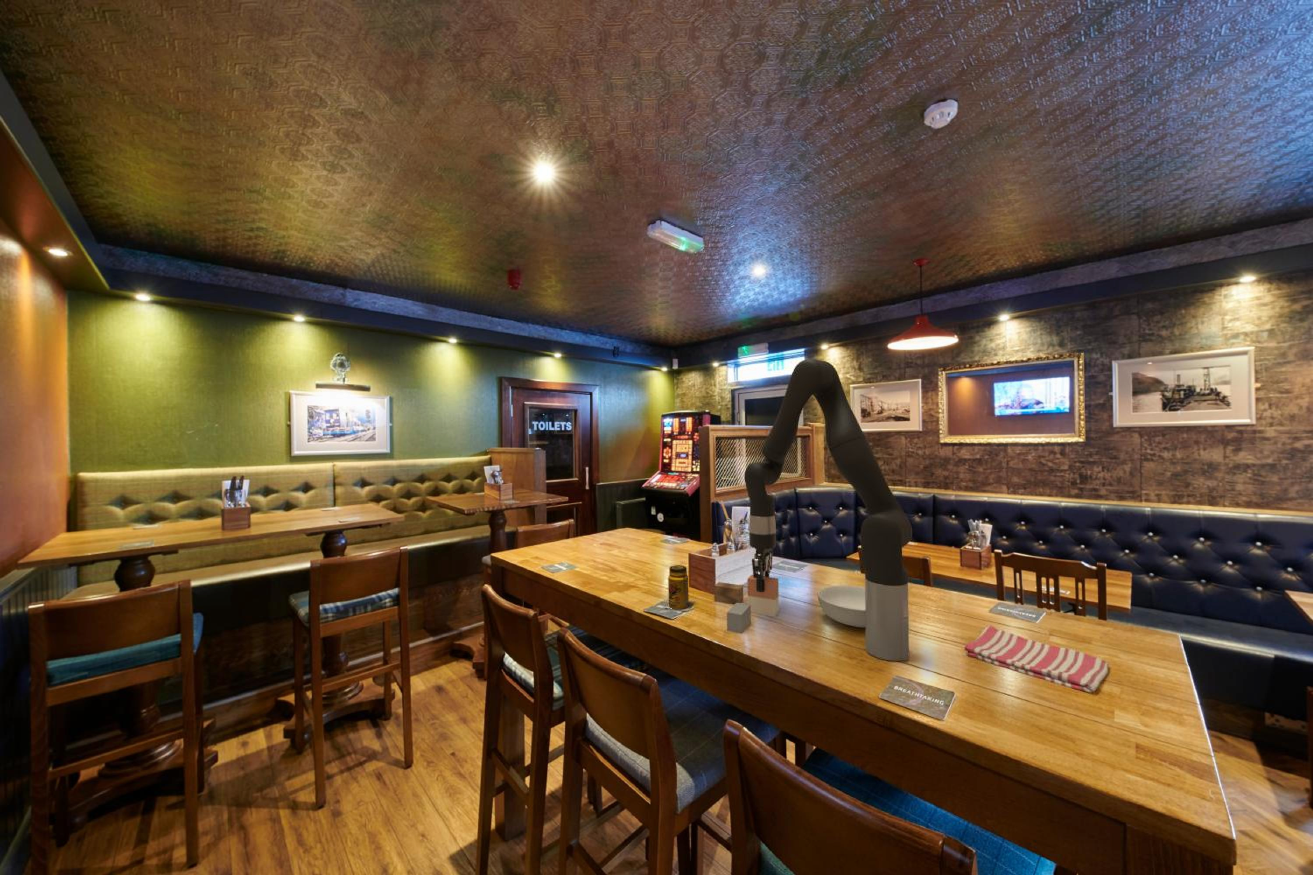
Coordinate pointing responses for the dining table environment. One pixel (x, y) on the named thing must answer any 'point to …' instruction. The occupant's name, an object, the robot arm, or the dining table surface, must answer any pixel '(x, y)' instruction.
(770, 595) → the terracotta brick
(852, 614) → the serving bowl
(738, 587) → the walnut brick
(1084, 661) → the dish towel
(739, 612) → the slate brick
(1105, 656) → the dining table surface
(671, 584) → the condiment
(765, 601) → the cream brick
